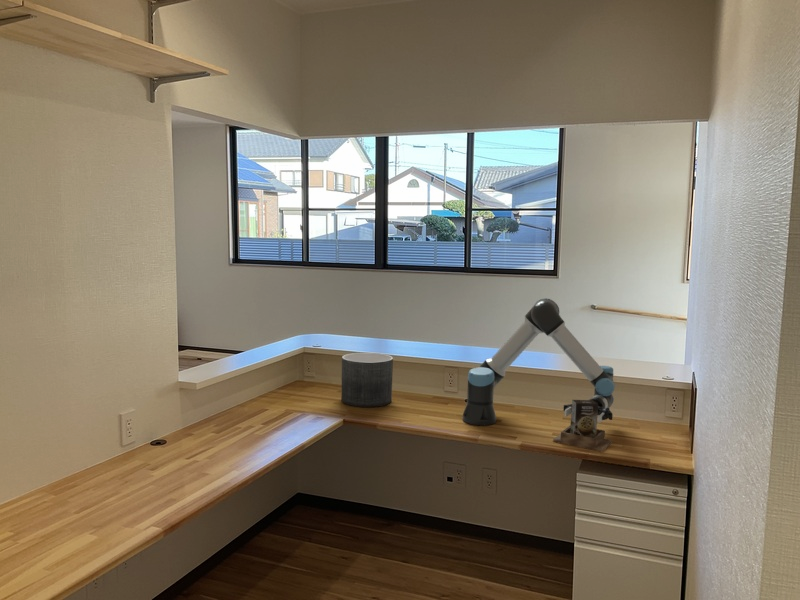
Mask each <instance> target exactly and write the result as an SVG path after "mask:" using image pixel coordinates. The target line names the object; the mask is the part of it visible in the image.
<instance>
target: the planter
mask: <svg viewBox="0 0 800 600" xmlns="http://www.w3.org/2000/svg"><path fill="white" fill-rule="evenodd" d="M393 365H394V357H393V356H391V355H389V354H384V353H380V352H379V353H377V352H353V353H347V354H344V355H342V356H341V399H340V400H341V402H342V403H343V404H345V405H347V406H352V407H359V408H377V407H378V408H379V407H383V406H387V405H389V404H390V403H391V402H392V396H393V394H392V393H393V374H394V373H393V372H394V370H393V367H394V366H393Z"/></svg>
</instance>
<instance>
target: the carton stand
mask: <svg viewBox="0 0 800 600" xmlns="http://www.w3.org/2000/svg"><path fill="white" fill-rule="evenodd" d="M553 441H555V442H554V443H558V442H559V444H562V443H564V444H563V445H567V444H569V446H573V447H577V448H581V449H587V450H591V451H595V452H601V453H603V452H604V451H606V449H607V448H608V447H609V446H610V445H611V444H612V443H613V440H612V439H607V438H606V430H605V429H603V430H602V429H596V437H595V438H590V437H585V436H580V435H575V434H570V425H568V426H567V427H566V428H564V429H563V430H562V431H561V432H560V434H558V435H556V437H554V438H553V440H552V442H553Z"/></svg>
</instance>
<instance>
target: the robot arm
mask: <svg viewBox="0 0 800 600" xmlns="http://www.w3.org/2000/svg"><path fill="white" fill-rule="evenodd" d="M565 323H566V322H565V321H564V319H563V318H562V317H561V315H560V308H559V305H558V303H556V302H555V301H554V300H553V299H551V298H546V297H545V298H541V299H539V300H537V301H536V302H535V303H534V305H533V306H532V307H531V308H530V310H529V311H528V312H527V313H526V314H525V315H524V321H523V322H522V324H520V326H519V327H518V328H517V329H516V330H515V331H514V333H512V335H510V337H509V338H508V339H507V340H506V341H505V343H504V344H503V345H502V346H501V347H500V348H499V350H497V352H496V353H495V354H494V355H493V356H492V357H491V358H485V360H484V361H483V362H482V363H481V364H480V366H478V367H475V368H474V367H473V368H471V369H469V371H468V375H467V393H466V394H467V398H466V405H465V407H464V411H463V413H462V421H463V422H464V423H465V424H469V425H474V426H491V425H494V424H496V423H497V414H496V411H495V408H494V390H495V388H496V386H498V385H499V383H500V382H501V381H502V380H503V379H504V378H505V376H506V370H507V369H509V368H510V366H511V365H512V364H514V362H515V360H517V358H518V357H520V355H521V354H522V353H523V352H524V351H525V350H526V349H527V347H529V345H530V344H531V343H532V342H533V341H534V340H535V338H537V336H539V335H540V334H545V335H546V336H547V337H551V338H552V340H553V342H555V343H556V344H557V346H558V347H560V349H561V350H562V351H563V352H564V353H565V354H566V356H567V357H568V358H569V359H570V361H572V362H573V364H574V365H575V366H576V367H577V368H578V369H579V370H580V372H581V373H582V374H583V375H584V376H585V378H586V379H587V380H588V381H589V383H591V385H592V386H593V387H594V391H593V394H594V396H592V397H590V399H588V400H593V401H595V402H596V403H598V415H597V424H600V423H602V422H603V421H606V420H610V421H612V420H613V416H614V414H613V412H612V411H611V410H610V407H611V406H612V405H613V404H614V399H615V398H614V396H613V393H614V391H615V387H616V385H615V382H614V375H615V374H614V368H613V367H612V366H609V365H599V363H598V362H597V361H596V360H595V359H594V357H593V356H592V355H591V354H590V353H589V352H588V351H587V350H586V348H585V347H584V346H583V345H582V343H580V341H578V339H577V338H576V337H575V336H574V334H573V333H572V332H571V331H570V330H569V329H568V328H567V327H566V325H565ZM562 411H563V412H564V417H565V418H567V417H568V416H571V412H572V403H569V404H564V405H563V410H562Z"/></svg>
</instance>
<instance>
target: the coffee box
mask: <svg viewBox="0 0 800 600" xmlns="http://www.w3.org/2000/svg"><path fill="white" fill-rule="evenodd" d="M571 404H572V412H571V414H570V425H569V426H570V434H575V435H580V436H585V437H590V438H595V437H596V429H597V427H598V426H597V425H598V416H599V415H598V403H596V402H595V401H593V400H589V399H572V401H571ZM597 415H598V416H597Z"/></svg>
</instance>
